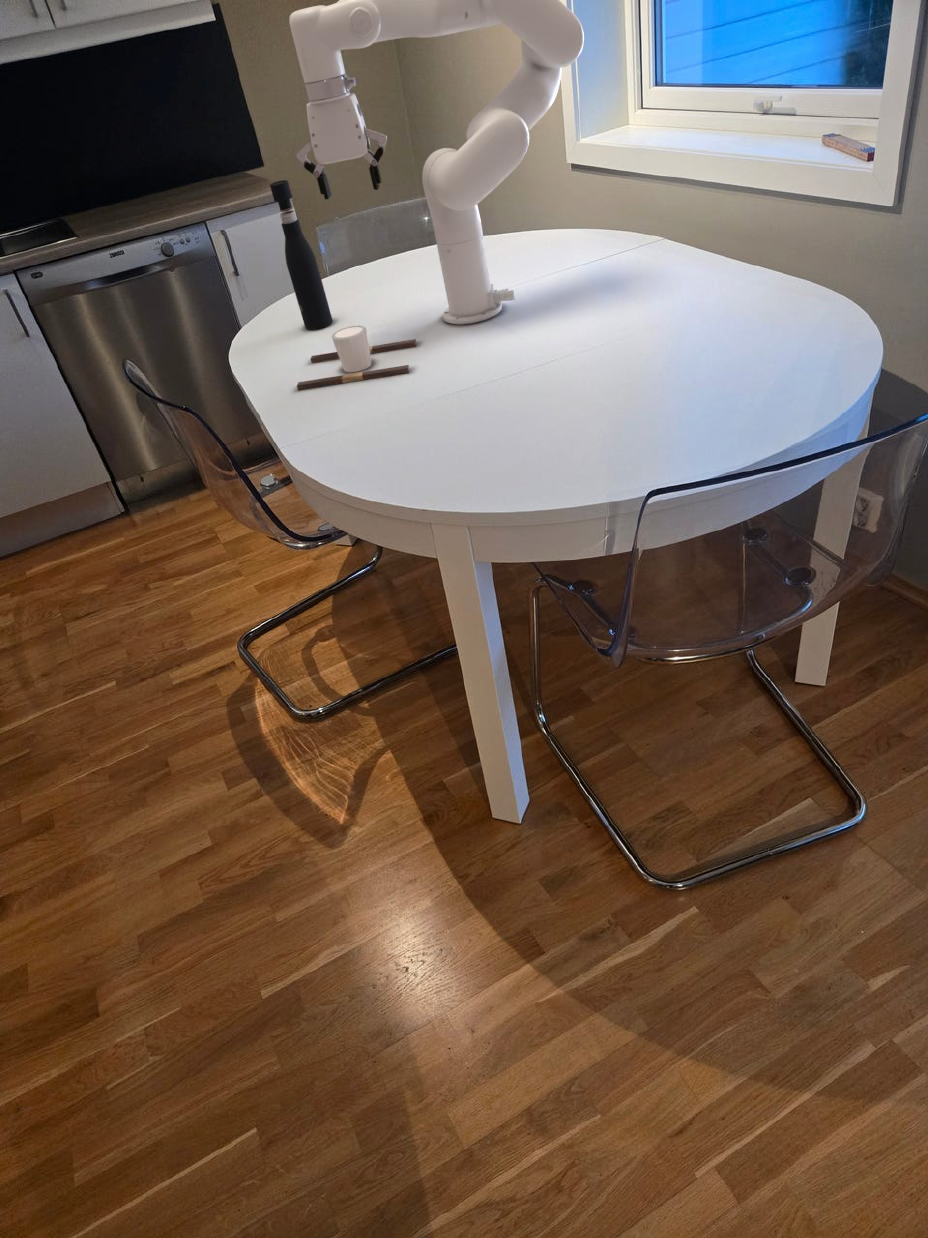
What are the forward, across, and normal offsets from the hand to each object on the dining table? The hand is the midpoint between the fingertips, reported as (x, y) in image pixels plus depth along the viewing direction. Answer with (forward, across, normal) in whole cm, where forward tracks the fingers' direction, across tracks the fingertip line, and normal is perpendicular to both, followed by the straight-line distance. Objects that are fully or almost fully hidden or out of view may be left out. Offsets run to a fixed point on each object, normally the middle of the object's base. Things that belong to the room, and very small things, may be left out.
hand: (352, 192), depth 166 cm
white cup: (+28, +4, +14) cm, 32 cm away
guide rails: (+28, +4, +14) cm, 32 cm away
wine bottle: (+28, +18, -16) cm, 37 cm away
